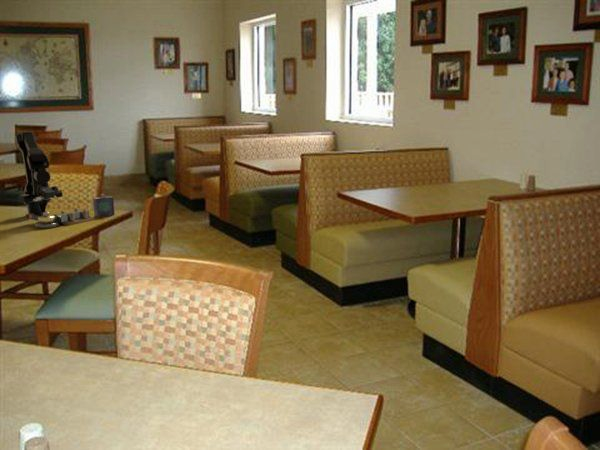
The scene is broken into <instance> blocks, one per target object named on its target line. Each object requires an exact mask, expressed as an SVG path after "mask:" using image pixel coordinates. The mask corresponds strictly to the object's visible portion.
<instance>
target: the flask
mask: <svg viewBox="0 0 600 450" xmlns="http://www.w3.org/2000/svg"><path fill="white" fill-rule="evenodd" d="M92 202H93V213H94V214H93V216H94V218H100V217H101V218H102V217H103V218H104V217H110V216H112V217H113V216H115V206H114V196H112V195H111V196H110V195H104V193H101V194H100V197H94V198H93V199H92Z"/></svg>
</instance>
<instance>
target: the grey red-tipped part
mask: <svg viewBox="0 0 600 450" xmlns="http://www.w3.org/2000/svg"><path fill="white" fill-rule="evenodd" d="M49 215H50V216H43V215H38V214H30V215H29V216H28V218H29V219H30V220H33V221H37V222H38V223H40V224H48V223H53V222H55V215H54V214H49Z"/></svg>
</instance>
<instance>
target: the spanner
mask: <svg viewBox="0 0 600 450" xmlns="http://www.w3.org/2000/svg"><path fill="white" fill-rule="evenodd" d="M83 210H84V209H82V210H80V209H78V211H75V210H74V211H68V212H65V213H61V212H58V213H54V214H53V215H55V221H58V222H65V221H69V220H71V215H70V213H71V212H74V217H75V219H80V218H84V212H83ZM86 210H87V215H88V217H90V210H88V209H86Z"/></svg>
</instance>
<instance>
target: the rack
mask: <svg viewBox="0 0 600 450" xmlns="http://www.w3.org/2000/svg"><path fill="white" fill-rule="evenodd" d="M73 209H74V211H79V208H78V207H75V208H73ZM82 210H83V212H84V218H80V219H75V217H74V212H73V211H70V212H71V213H70V215H71V220H69V221H65V222H59V225H64V226H71V225H77V224H80V223H85V222H90V221H94V220H95V216H94V217H93V216H89V217H88V215H87V210H88V209H82ZM60 213H66V210H62V211H60Z"/></svg>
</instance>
